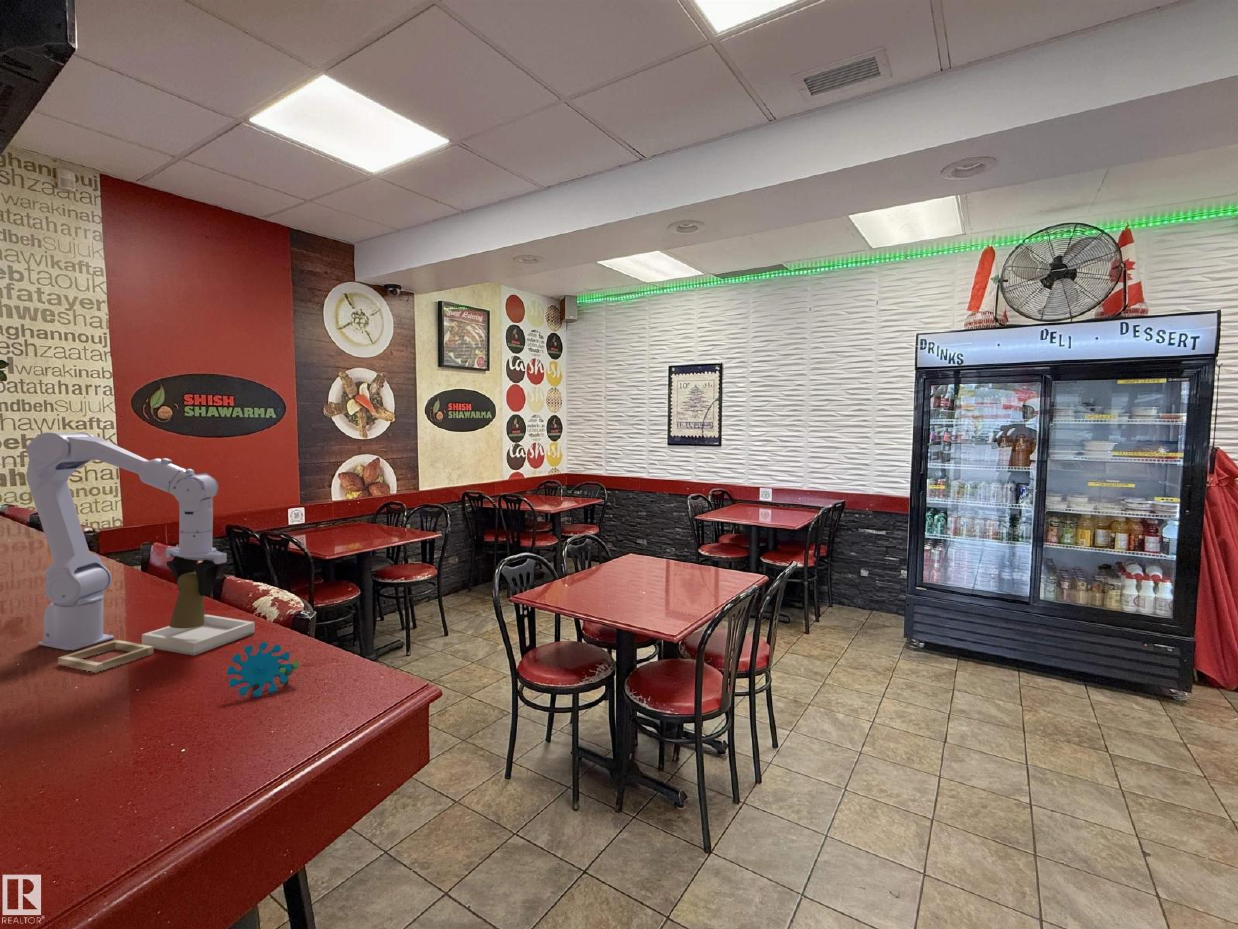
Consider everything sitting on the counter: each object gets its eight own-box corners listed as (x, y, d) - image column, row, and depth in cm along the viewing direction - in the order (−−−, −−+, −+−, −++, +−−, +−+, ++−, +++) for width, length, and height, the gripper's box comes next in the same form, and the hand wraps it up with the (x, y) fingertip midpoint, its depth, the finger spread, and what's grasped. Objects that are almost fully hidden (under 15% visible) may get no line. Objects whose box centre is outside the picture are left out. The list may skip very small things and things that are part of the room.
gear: (222, 696, 94) (232, 641, 100) (219, 710, 97) (228, 655, 103) (297, 691, 100) (301, 639, 106) (292, 705, 103) (296, 653, 109)
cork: (186, 630, 116) (193, 577, 116) (161, 626, 116) (168, 573, 117) (211, 623, 121) (218, 573, 122) (188, 619, 122) (194, 569, 123)
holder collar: (57, 665, 106) (57, 657, 106) (116, 646, 115) (116, 639, 115) (96, 673, 103) (96, 665, 103) (153, 653, 113) (153, 646, 113)
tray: (141, 646, 116) (141, 634, 116) (206, 625, 130) (206, 614, 130) (193, 655, 113) (193, 643, 113) (254, 633, 126) (254, 622, 126)
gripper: (239, 530, 121) (239, 592, 122) (188, 525, 125) (188, 584, 126) (208, 536, 115) (208, 600, 115) (155, 530, 118) (155, 592, 119)
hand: (195, 593), depth 120 cm, fingers closed on cork, 5 cm apart
